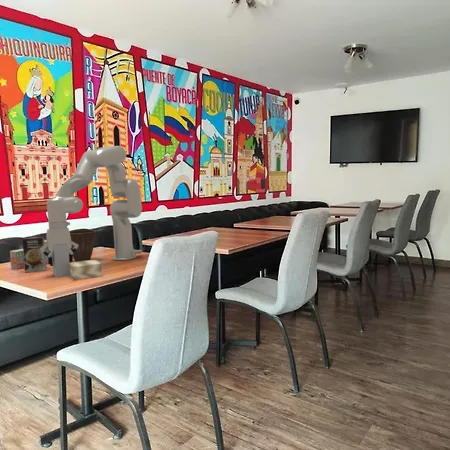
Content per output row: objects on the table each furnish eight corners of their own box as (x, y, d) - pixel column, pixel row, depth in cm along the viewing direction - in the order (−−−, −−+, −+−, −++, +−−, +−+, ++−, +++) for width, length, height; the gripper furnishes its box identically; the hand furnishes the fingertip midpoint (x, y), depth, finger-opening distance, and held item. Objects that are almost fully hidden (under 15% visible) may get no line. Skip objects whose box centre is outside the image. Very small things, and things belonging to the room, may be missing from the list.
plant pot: (101, 258, 228) (99, 229, 226) (90, 263, 213) (88, 232, 211) (75, 259, 229) (73, 230, 228) (62, 264, 215) (60, 233, 213)
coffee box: (24, 272, 198) (21, 239, 196) (27, 270, 204) (24, 237, 202) (45, 270, 200) (42, 237, 198) (47, 268, 206) (44, 236, 205)
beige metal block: (96, 272, 193) (95, 259, 192) (101, 277, 182) (100, 263, 182) (69, 275, 188) (68, 262, 187) (73, 281, 177) (71, 267, 176)
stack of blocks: (17, 270, 205) (15, 245, 204) (11, 269, 209) (8, 244, 207) (57, 262, 222) (55, 239, 221) (50, 261, 226) (48, 239, 224)
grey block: (67, 272, 194) (64, 242, 192) (70, 275, 188) (68, 244, 186) (53, 274, 191) (50, 244, 189) (56, 277, 185) (53, 245, 183)
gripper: (75, 223, 195) (78, 260, 196) (35, 226, 186) (38, 265, 187) (79, 224, 188) (82, 262, 190) (38, 228, 179) (41, 268, 181)
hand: (61, 264), depth 189 cm, fingers open, 7 cm apart
